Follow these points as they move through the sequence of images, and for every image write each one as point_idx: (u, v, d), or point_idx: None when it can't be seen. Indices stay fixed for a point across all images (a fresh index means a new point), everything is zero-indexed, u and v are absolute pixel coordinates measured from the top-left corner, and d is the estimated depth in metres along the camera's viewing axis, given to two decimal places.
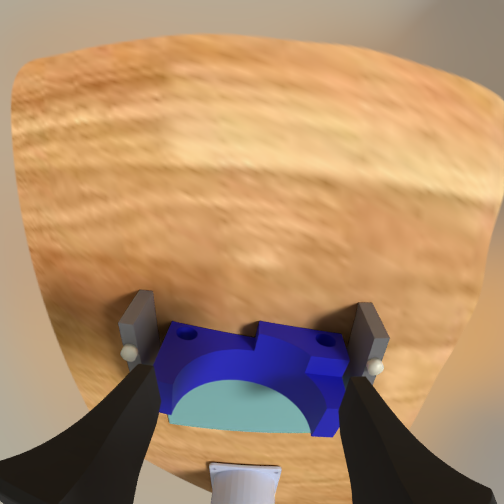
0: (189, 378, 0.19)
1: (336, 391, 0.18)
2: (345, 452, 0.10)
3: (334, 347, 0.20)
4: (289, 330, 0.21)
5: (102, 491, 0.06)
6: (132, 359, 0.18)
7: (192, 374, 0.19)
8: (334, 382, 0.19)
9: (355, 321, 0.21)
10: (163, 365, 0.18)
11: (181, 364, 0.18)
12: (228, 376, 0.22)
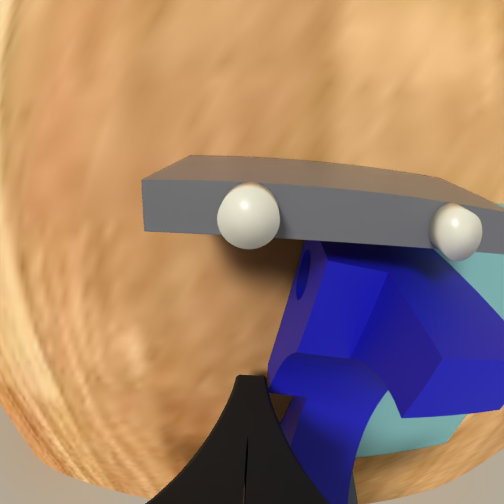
0: None
1: (397, 333, 0.06)
2: None
3: (310, 269, 0.08)
4: (281, 331, 0.11)
5: None
6: None
7: None
8: (385, 311, 0.07)
9: None
10: None
11: None
12: (358, 425, 0.11)
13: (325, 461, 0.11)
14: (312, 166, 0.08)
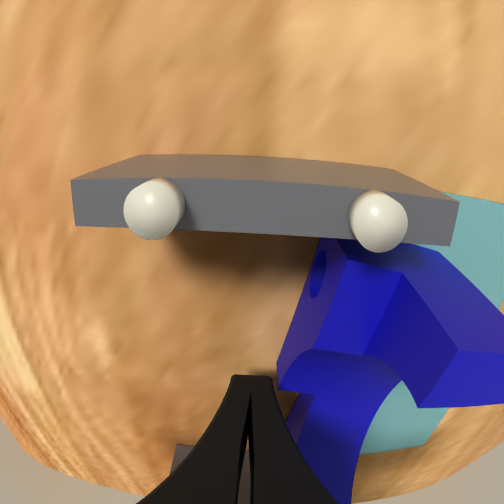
0: None
1: (413, 329, 0.06)
2: (249, 453, 0.10)
3: (327, 268, 0.09)
4: (292, 330, 0.11)
5: None
6: None
7: None
8: (400, 308, 0.07)
9: None
10: None
11: None
12: (363, 423, 0.11)
13: (330, 459, 0.11)
14: (246, 161, 0.08)
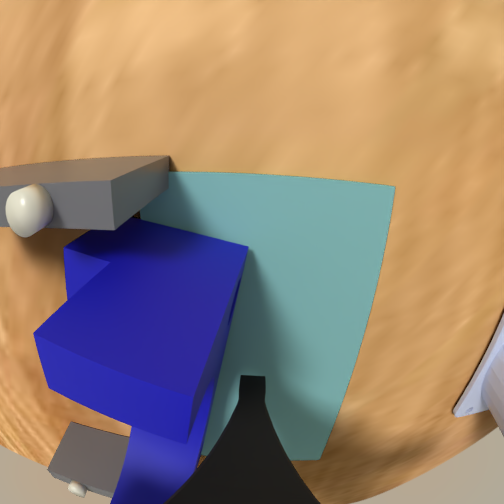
0: (156, 481, 0.10)
1: None
2: None
3: None
4: None
5: None
6: (78, 492, 0.11)
7: (152, 474, 0.11)
8: None
9: None
10: None
11: (119, 480, 0.10)
12: (195, 427, 0.11)
13: (164, 454, 0.11)
14: (30, 168, 0.08)
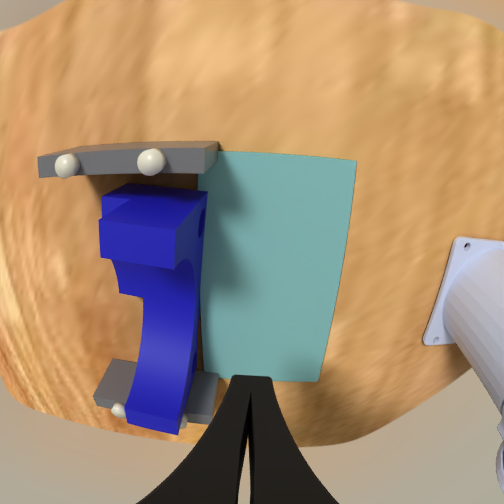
0: (161, 378, 0.17)
1: None
2: (249, 453, 0.10)
3: None
4: None
5: None
6: (121, 411, 0.17)
7: (158, 373, 0.17)
8: None
9: None
10: None
11: (133, 383, 0.16)
12: (186, 327, 0.18)
13: (166, 355, 0.17)
14: (124, 144, 0.14)
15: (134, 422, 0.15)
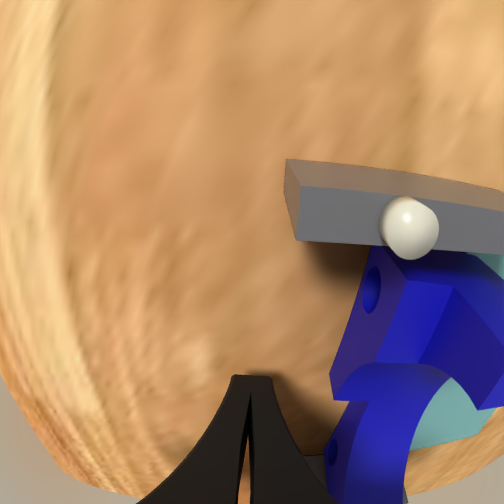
0: (377, 487, 0.10)
1: (468, 339, 0.06)
2: (249, 453, 0.10)
3: (382, 285, 0.09)
4: (346, 342, 0.11)
5: None
6: None
7: (372, 482, 0.10)
8: (454, 320, 0.07)
9: None
10: None
11: (340, 502, 0.10)
12: (412, 423, 0.11)
13: (382, 459, 0.11)
14: (411, 178, 0.08)
15: None
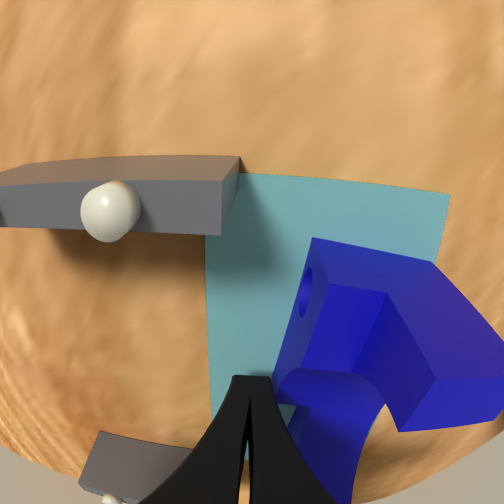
0: None
1: (395, 352, 0.06)
2: (248, 453, 0.10)
3: (312, 288, 0.09)
4: (284, 345, 0.11)
5: None
6: None
7: None
8: (384, 329, 0.07)
9: None
10: None
11: None
12: (360, 432, 0.11)
13: (328, 467, 0.11)
14: (80, 163, 0.08)
15: None
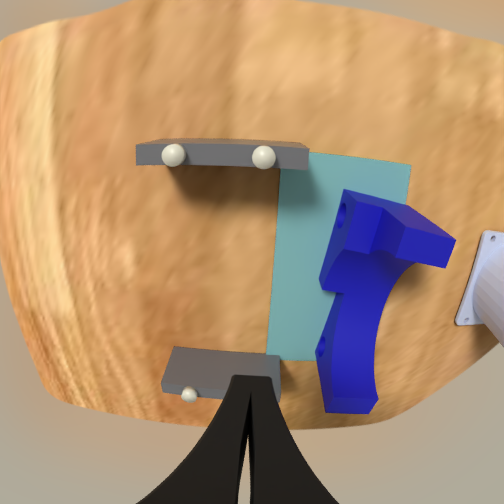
0: (354, 365, 0.19)
1: (389, 228, 0.14)
2: (249, 453, 0.10)
3: (346, 210, 0.17)
4: (328, 252, 0.19)
5: None
6: (192, 395, 0.19)
7: (351, 361, 0.19)
8: (383, 223, 0.15)
9: None
10: (325, 390, 0.18)
11: (329, 374, 0.18)
12: (375, 318, 0.20)
13: (356, 344, 0.19)
14: None
15: (334, 410, 0.17)
